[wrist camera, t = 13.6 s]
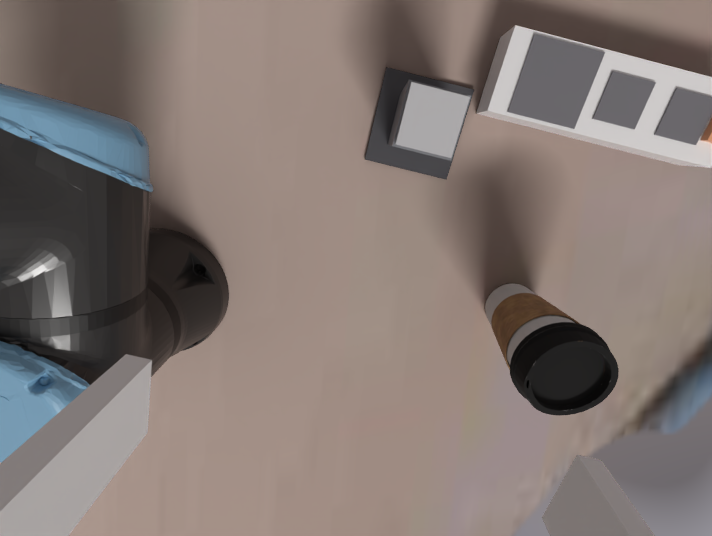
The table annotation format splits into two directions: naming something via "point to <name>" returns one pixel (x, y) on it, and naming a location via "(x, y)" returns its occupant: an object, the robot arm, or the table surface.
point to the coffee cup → (550, 352)
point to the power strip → (600, 97)
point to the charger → (428, 119)
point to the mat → (384, 122)
